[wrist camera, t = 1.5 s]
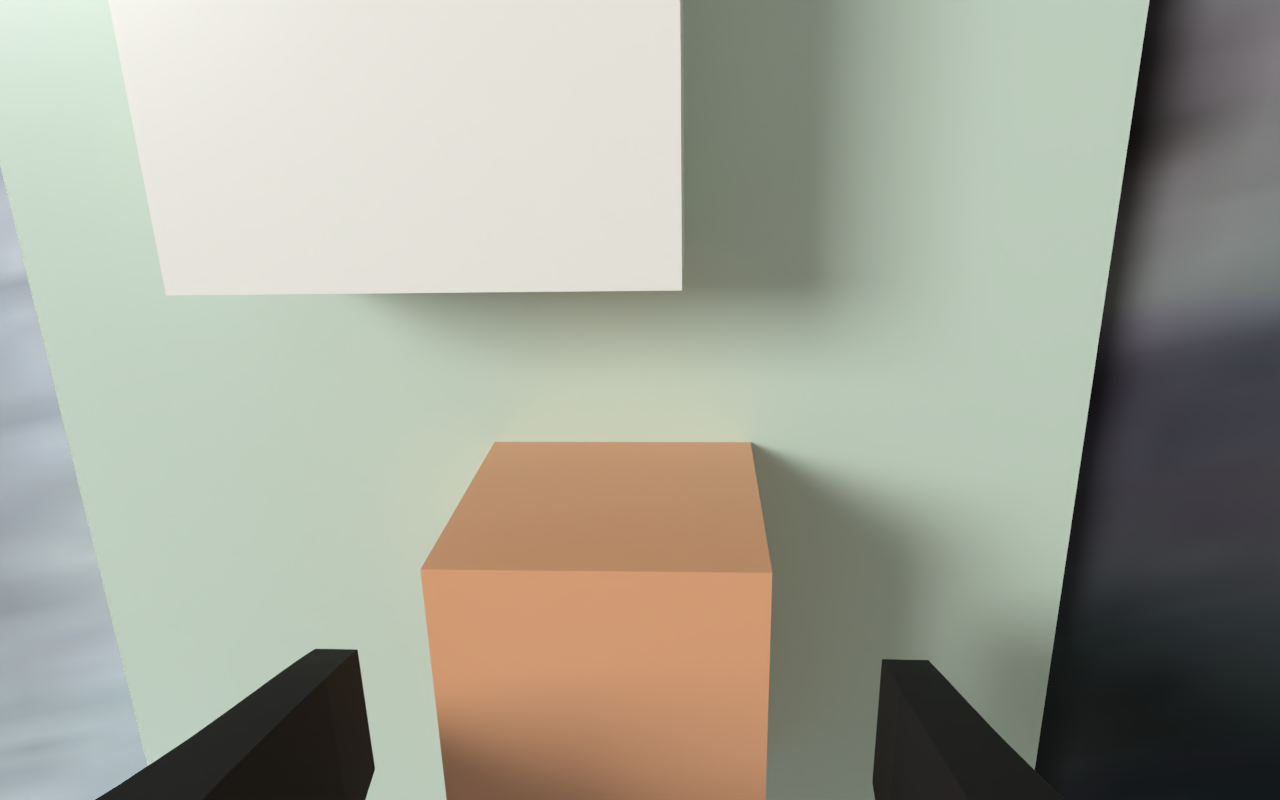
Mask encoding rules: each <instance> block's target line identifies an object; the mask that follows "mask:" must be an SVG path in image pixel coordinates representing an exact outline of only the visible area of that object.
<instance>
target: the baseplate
mask: <svg viewBox="0 0 1280 800" xmlns="http://www.w3.org/2000/svg"><path fill="white" fill-rule="evenodd" d="M1148 7H1149V0H683V31H684V217H685V251H684V268H683V284H682V291H581V292H477V293H372V294H268V295H166V293H165V288H164V283H163V277H162V272H161V267H160V262H159V257H158V252H157V247H156V242H155V237H154V231H153V226H152V221H151V216H150V211H149V206H148V201H147V196H146V191H145V186H144V180H143V175H142V170H141V165H140V160H139V155H138V150H137V145H136V140H135V135H134V129H133V124H132V119H131V114H130V109H129V104H128V99H127V94H126V89H125V83H124V78H123V73H122V68H121V63H120V58H119V53H118V48H117V43H116V38H115V32H114V27H113V22H112V17H111V12H110V7H109V2H108V0H0V166H1V170H2V174H3V179H4V183H5V187H6V191H7V195H8V199H9V203H10V207H11V211H12V215H13V219H14V223H15V228H16V232H17V236H18V240H19V244H20V248H21V252H22V256H23V260H24V264H25V268H26V272H27V276H28V281H29V285H30V289H31V293H32V297H33V301H34V305H35V309H36V313H37V317H38V321H39V325H40V330H41V334H42V338H43V342H44V346H45V350H46V354H47V358H48V362H49V366H50V370H51V374H52V378H53V383H54V387H55V391H56V395H57V399H58V403H59V407H60V411H61V415H62V419H63V423H64V427H65V432H66V436H67V440H68V444H69V448H70V452H71V456H72V460H73V464H74V468H75V472H76V476H77V480H78V485H79V489H80V493H81V497H82V501H83V505H84V509H85V513H86V517H87V521H88V525H89V529H90V534H91V538H92V542H93V546H94V550H95V554H96V558H97V562H98V566H99V570H100V574H101V578H102V582H103V587H104V591H105V595H106V599H107V603H108V607H109V611H110V615H111V619H112V623H113V627H114V631H115V636H116V640H117V644H118V648H119V652H120V656H121V660H122V664H123V668H124V672H125V676H126V680H127V684H128V689H129V693H130V697H131V701H132V705H133V709H134V713H135V717H136V721H137V725H138V729H139V733H140V738H141V742H142V746H143V750H144V754H145V758H146V762H147V766H149V765H150V764H152V763H153V762H155V761H156V760H158V759H159V758H161V757H162V756H164V755H165V754H167V753H168V752H170V751H171V750H173V749H174V748H176V747H177V746H179V745H180V744H182V743H183V742H185V741H186V740H188V739H189V738H190V737H192V736H193V735H195V734H196V733H198V732H199V731H200V730H202V729H203V728H205V727H206V726H207V725H209V724H210V723H211V722H213V721H214V720H216V719H217V718H218V717H220V716H221V715H223V714H224V713H225V712H227V711H228V710H230V709H231V708H232V707H234V706H235V705H236V704H238V703H239V702H241V701H242V700H243V699H245V698H246V697H248V696H249V695H250V694H252V693H253V692H254V691H256V690H257V689H258V688H260V687H261V686H263V685H264V684H265V683H267V682H268V681H269V680H271V679H272V678H273V677H275V676H276V675H278V674H279V673H280V672H282V671H283V670H285V669H286V668H287V667H289V666H290V665H292V664H293V663H294V662H296V661H297V660H299V659H300V658H302V657H303V656H305V655H306V654H308V653H309V652H311V651H313V650H314V649H355V650H358V656H359V663H360V670H361V677H362V684H363V690H364V697H365V704H366V711H367V718H368V724H369V731H370V738H371V745H372V752H373V759H374V765H375V771H374V774H373V777H372V780H371V783H370V787H369V790H368V793H367V796H366V799H365V800H447V799H446V790H445V781H444V773H443V764H442V755H441V746H440V738H439V729H438V720H437V711H436V702H435V694H434V685H433V676H432V667H431V659H430V650H429V641H428V632H427V624H426V615H425V606H424V597H423V588H422V580H421V571H420V569H421V567H422V566H423V564H424V562H425V561H426V559H427V557H428V555H429V554H430V552H431V550H432V549H433V547H434V545H435V543H436V542H437V540H438V538H439V537H440V535H441V533H442V531H443V530H444V528H445V526H446V525H447V523H448V521H449V519H450V518H451V516H452V514H453V512H454V511H455V509H456V507H457V506H458V504H459V502H460V500H461V499H462V497H463V495H464V494H465V492H466V490H467V488H468V487H469V485H470V483H471V482H472V480H473V478H474V476H475V475H476V473H477V471H478V470H479V468H480V466H481V464H482V463H483V461H484V459H485V458H486V456H487V454H488V452H489V451H490V449H491V447H492V446H493V444H494V442H751V448H752V454H753V460H754V466H755V472H756V478H757V484H758V490H759V496H760V502H761V508H762V514H763V520H764V526H765V532H766V538H767V544H768V550H769V556H770V562H771V568H772V600H771V634H770V668H769V701H768V735H767V768H766V800H875V796H874V790H873V784H872V780H873V767H874V754H875V741H876V729H877V716H878V703H879V691H880V678H881V665H882V659H898V660H929V661H930V662H931V663H932V664H933V665H934V666H935V667H936V669H937V670H938V671H939V672H940V673H941V674H942V675H943V676H944V677H945V678H946V679H947V680H948V681H949V682H950V683H951V684H952V685H953V687H954V688H955V689H956V690H957V691H958V692H959V693H960V694H961V695H962V696H963V697H964V698H965V699H966V700H967V702H968V703H969V704H970V705H971V706H972V707H973V708H974V709H975V710H976V711H977V712H978V713H979V714H980V715H981V716H982V717H983V719H984V720H985V721H986V722H987V723H988V724H989V725H990V726H991V727H992V728H993V729H994V730H995V731H996V732H997V733H998V734H999V735H1000V736H1001V737H1002V738H1003V739H1004V740H1005V741H1006V742H1007V743H1008V744H1009V745H1010V746H1011V747H1012V748H1013V749H1014V750H1015V751H1016V752H1017V753H1018V754H1019V755H1020V756H1021V757H1022V758H1023V759H1024V760H1025V761H1026V762H1027V763H1028V764H1029V765H1030V766H1031V767H1032V768H1033V769H1034V770H1035V765H1036V758H1037V751H1038V745H1039V738H1040V731H1041V724H1042V718H1043V711H1044V704H1045V698H1046V691H1047V684H1048V678H1049V671H1050V664H1051V657H1052V651H1053V644H1054V637H1055V631H1056V624H1057V617H1058V610H1059V604H1060V597H1061V590H1062V584H1063V577H1064V570H1065V563H1066V557H1067V550H1068V543H1069V537H1070V530H1071V523H1072V517H1073V510H1074V503H1075V496H1076V490H1077V483H1078V476H1079V470H1080V463H1081V456H1082V449H1083V443H1084V436H1085V429H1086V423H1087V416H1088V409H1089V402H1090V396H1091V389H1092V382H1093V376H1094V369H1095V362H1096V356H1097V349H1098V342H1099V335H1100V329H1101V322H1102V315H1103V309H1104V302H1105V295H1106V288H1107V282H1108V275H1109V268H1110V262H1111V255H1112V248H1113V241H1114V235H1115V228H1116V221H1117V215H1118V208H1119V201H1120V195H1121V188H1122V181H1123V174H1124V168H1125V161H1126V154H1127V148H1128V141H1129V134H1130V127H1131V121H1132V114H1133V107H1134V101H1135V94H1136V87H1137V80H1138V74H1139V67H1140V60H1141V54H1142V47H1143V40H1144V34H1145V27H1146V20H1147V13H1148Z"/></svg>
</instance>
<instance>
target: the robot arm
mask: <svg viewBox="0 0 1280 800" xmlns="http://www.w3.org/2000/svg"><path fill="white" fill-rule="evenodd" d="M374 771H375V765H374V759H373V752H372V745H371V738H370V731H369V724H368V718H367V711H366V704H365V697H364V690H363V684H362V677H361V670H360V663H359V656H358V650H355V649H314V650H313V651H311V652H309V653H308V654H306V655H305V656H303V657H302V658H300V659H299V660H297V661H296V662H294V663H293V664H292V665H290V666H289V667H287V668H286V669H285V670H283V671H282V672H280V673H279V674H278V675H276V676H275V677H273V678H272V679H271V680H269V681H268V682H267V683H265V684H264V685H263V686H261V687H260V688H258V689H257V690H256V691H254V692H253V693H252V694H250V695H249V696H248V697H246V698H245V699H243V700H242V701H241V702H239V703H238V704H236V705H235V706H234V707H232V708H231V709H230V710H228V711H227V712H225V713H224V714H223V715H221V716H220V717H218V718H217V719H216V720H214V721H213V722H211V723H210V724H209V725H207V726H206V727H205V728H203V729H202V730H200V731H199V732H198V733H196V734H195V735H193V736H192V737H190V738H189V739H188V740H186V741H185V742H183V743H182V744H180V745H179V746H177V747H176V748H174V749H173V750H171V751H170V752H168V753H167V754H165V755H164V756H162V757H161V758H159V759H158V760H156V761H155V762H153V763H152V764H150V765H149V766H147V767H146V768H144V769H143V770H141V771H140V772H138V773H137V774H135V775H134V776H132V777H131V778H129V779H128V780H126V781H125V782H123V783H121V784H120V785H118V786H117V787H115V788H114V789H112V790H110V791H109V792H107V793H106V794H104V795H102V796H101V797H99V798H97V799H96V800H365V799H366V796H367V793H368V790H369V787H370V783H371V780H372V777H373V774H374ZM872 784H873V790H874V796H875V800H1067V799H1066V798H1065V797H1064V796H1062V795H1061V794H1060V793H1059V792H1058V791H1057V790H1056V789H1054V788H1053V787H1052V786H1051V785H1050V784H1049V783H1048V782H1047V781H1046V780H1045V779H1044V778H1043V777H1042V776H1040V775H1039V774H1038V773H1037V772H1036V771H1035V770H1034V769H1033V768H1032V767H1031V766H1030V765H1029V764H1028V763H1027V762H1026V761H1025V760H1024V759H1023V758H1022V757H1021V756H1020V755H1019V754H1018V753H1017V752H1016V751H1015V750H1014V749H1013V748H1012V747H1011V746H1010V745H1009V744H1008V743H1007V742H1006V741H1005V740H1004V739H1003V738H1002V737H1001V736H1000V735H999V734H998V733H997V732H996V731H995V730H994V729H993V728H992V727H991V726H990V725H989V724H988V723H987V722H986V721H985V720H984V719H983V717H982V716H981V715H980V714H979V713H978V712H977V711H976V710H975V709H974V708H973V707H972V706H971V705H970V704H969V703H968V702H967V700H966V699H965V698H964V697H963V696H962V695H961V694H960V693H959V692H958V691H957V690H956V689H955V688H954V687H953V685H952V684H951V683H950V682H949V681H948V680H947V679H946V678H945V677H944V676H943V675H942V674H941V673H940V672H939V671H938V670H937V669H936V667H935V666H934V665H933V664H932V663H931V662H930V661H929V660H898V659H882V665H881V678H880V691H879V703H878V716H877V729H876V741H875V754H874V767H873V780H872Z"/></svg>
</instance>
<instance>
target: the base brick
mask: <svg viewBox="0 0 1280 800" xmlns="http://www.w3.org/2000/svg"><path fill="white" fill-rule="evenodd" d="M108 2H109V7H110V12H111V17H112V22H113V27H114V32H115V38H116V43H117V48H118V53H119V58H120V63H121V68H122V73H123V78H124V83H125V89H126V94H127V99H128V104H129V109H130V114H131V119H132V124H133V129H134V135H135V140H136V145H137V150H138V155H139V160H140V165H141V170H142V175H143V180H144V186H145V191H146V196H147V201H148V206H149V211H150V216H151V221H152V226H153V231H154V237H155V242H156V247H157V252H158V257H159V262H160V267H161V272H162V277H163V283H164V288H165V293H166V295H268V294H372V293H477V292H581V291H682V284H683V268H684V251H685V217H684V31H683V0H108Z"/></svg>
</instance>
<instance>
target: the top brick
mask: <svg viewBox="0 0 1280 800" xmlns="http://www.w3.org/2000/svg"><path fill="white" fill-rule="evenodd" d="M420 571H421V580H422V588H423V597H424V606H425V615H426V624H427V632H428V641H429V650H430V659H431V667H432V676H433V685H434V694H435V702H436V711H437V720H438V729H439V738H440V746H441V755H442V764H443V773H444V781H445V790H446V799H447V800H766V768H767V735H768V701H769V668H770V634H771V600H772V568H771V562H770V556H769V550H768V544H767V538H766V532H765V526H764V520H763V514H762V508H761V502H760V496H759V490H758V484H757V478H756V472H755V466H754V460H753V454H752V448H751V442H494V444H493V446H492V447H491V449H490V451H489V452H488V454H487V456H486V458H485V459H484V461H483V463H482V464H481V466H480V468H479V470H478V471H477V473H476V475H475V476H474V478H473V480H472V482H471V483H470V485H469V487H468V488H467V490H466V492H465V494H464V495H463V497H462V499H461V500H460V502H459V504H458V506H457V507H456V509H455V511H454V512H453V514H452V516H451V518H450V519H449V521H448V523H447V525H446V526H445V528H444V530H443V531H442V533H441V535H440V537H439V538H438V540H437V542H436V543H435V545H434V547H433V549H432V550H431V552H430V554H429V555H428V557H427V559H426V561H425V562H424V564H423V566H422V567H421V569H420Z"/></svg>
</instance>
